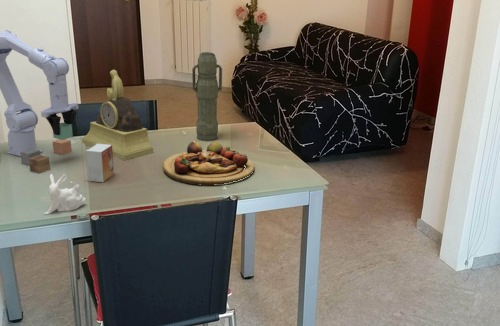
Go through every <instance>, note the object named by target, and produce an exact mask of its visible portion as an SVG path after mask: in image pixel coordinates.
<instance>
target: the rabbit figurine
mask: <svg viewBox="0 0 500 326" xmlns="http://www.w3.org/2000/svg"><path fill="white" fill-rule="evenodd" d="M66 180H67V175H66V173H63V174H62V176H61V177H60V178H59V179H58V180H57V181H56V182H55V178H54V174H53V173H51V174H50V175H49V181H50V185H49V186H48V194H49V196H50V197H49V199H50V200H51V201H50V202H51V203H50V206H49V207H48V210H46V212H43V215H45V216H47V215H50V214H52V213H54V211H56V210H57V212H70V211H73V210H77V209H79V208H80V207H82V206H83V205H85V203H86V202H87V198H86V197H85V196H84V197H83V194H82V193H81V194H80V190H81V185H80V184H78V183H77V184H76V183H75V182H74V181H69V183H70V184H72V186H73V187H71V188H68V187H65V188H62V187H60V186H61V184H63V183H64V182H65V181H66Z"/></svg>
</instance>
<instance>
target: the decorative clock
mask: <svg viewBox="0 0 500 326" xmlns="http://www.w3.org/2000/svg"><path fill="white" fill-rule="evenodd" d="M109 74H110V77H111V87H110V88H109V87H108V88H107V89H106V96H107V101H104V102H103V103H102V104H101V107H100V110H99V111H100V112H99V114H98V115H97V117H96V119H95V120H96V121H90V123H89V125H90V127H89V131H88V132H87V134H85V136H84V137H82V138H81V143H82V144H83V143H84V144H83V145H86V146H88V147H90V148H91V147H93V146H95V145H96V144H107V145H112V150H113V157H115V158H118V159H120V160H122V161H129V160H133V159H135V158H139V157H142V156H145V155H146V156H147V155H149V154H153V153H154V148H153V146H152V144H151V141H150V139H149V135H148V128H145V127H143V125H142V121H141V118H140V116H139V113H138V111H137V109H136V108H135V107H134V104H133V103H132V102H131V100H130V98H128V97H126V96H124V95H125V92H124V91H125V89H124V84H123V82H122V81H123V80H122V79H121V78H120V77H119V75H118V71H117V69H116V70H115V69H112V70H111V71H110V72H109Z"/></svg>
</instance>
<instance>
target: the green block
mask: <svg viewBox="0 0 500 326" xmlns="http://www.w3.org/2000/svg"><path fill="white" fill-rule="evenodd" d="M52 135H53V138H54V139H56V140H59V139H61V140H64V139H66V140H68V139H70V138H73V137H74V136H73V124H72V125H71V124H67V123H64V122H60V135H55V134H54V132H53V131H52Z"/></svg>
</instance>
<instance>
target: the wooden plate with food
mask: <svg viewBox="0 0 500 326" xmlns="http://www.w3.org/2000/svg"><path fill="white" fill-rule="evenodd" d="M244 165H245V166H246V168H245V167H244ZM244 168H245V170H244ZM162 170H163V172H164V173H165V174H166V175H167V176H168V177H170V178H171V179H173V180H175V181H178V182H180V183H184V184H188V183H189V184H188V185H194V184H201V185H200V186H205V185H214V184H224V183H229V182H233V181H238V180H240V179H243V178H245V177H247V176H249V175H250V174H251V173H252V172H253V171H254V172H255V166H254V163H253V162H252V160H250V159H249V158H248V156H247V155H245V154H240V152H237V151H236V150H231V147H230V146H225V147H223V146H222V144H221V143H219V142H218V141H216V140H214V141H212V143H210V144H208V145H207V147H206V149H203V148H202V145H201V144H200V143H199V142H198V141H196V140H193V141H191V142H190V143H189V144H188V146H187V148H186V151H183V152H179V153H175V154H173V155H171V156H169V157H168V158H166V159H165V160H164V162H163V163H162ZM243 170H244V171H243ZM254 172H253V173H254Z"/></svg>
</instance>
